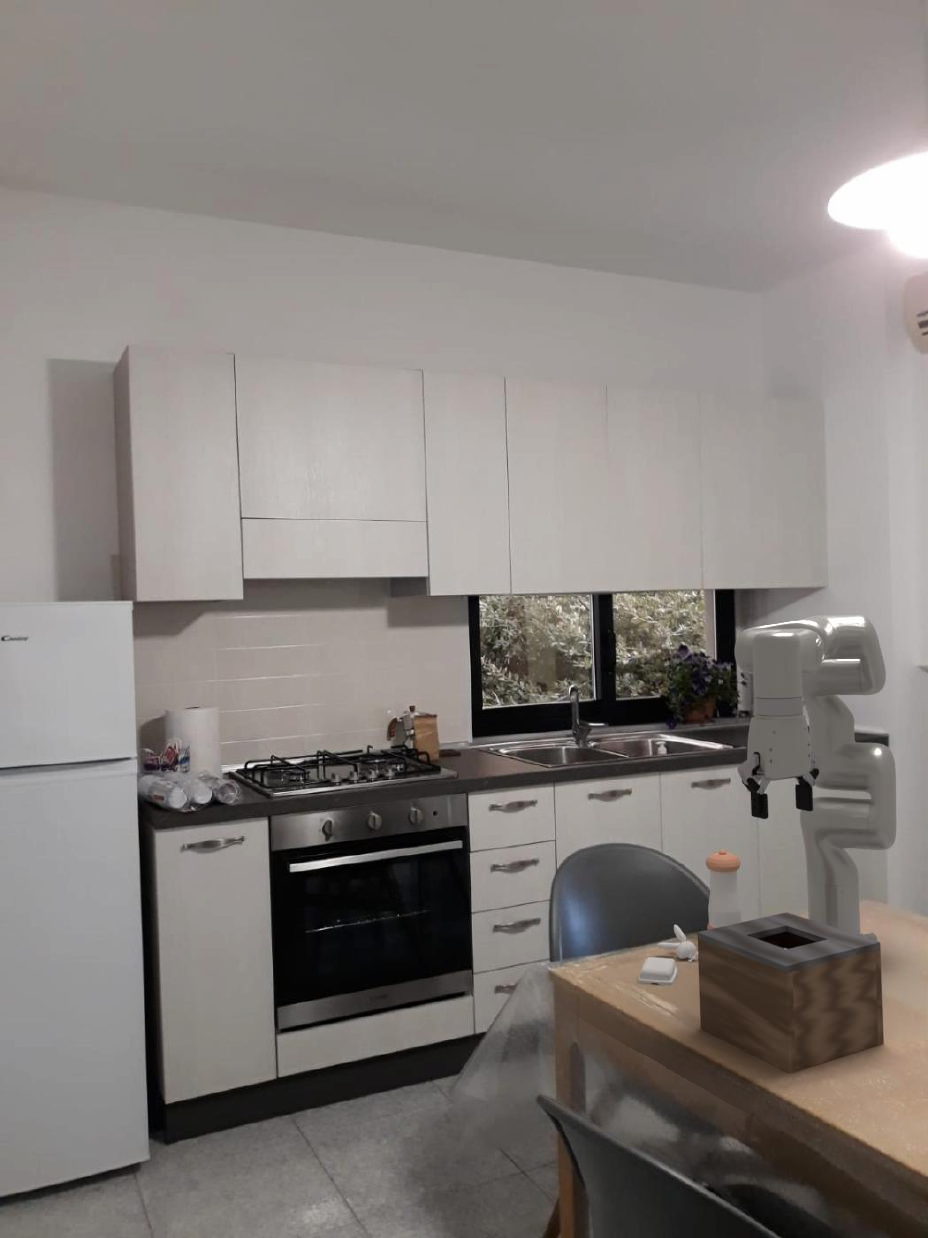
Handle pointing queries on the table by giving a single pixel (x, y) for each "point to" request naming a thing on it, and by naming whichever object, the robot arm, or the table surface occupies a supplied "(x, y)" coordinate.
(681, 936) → the rabbit figurine
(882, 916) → the table surface
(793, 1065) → the slot box
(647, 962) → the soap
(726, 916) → the pepper shaker
